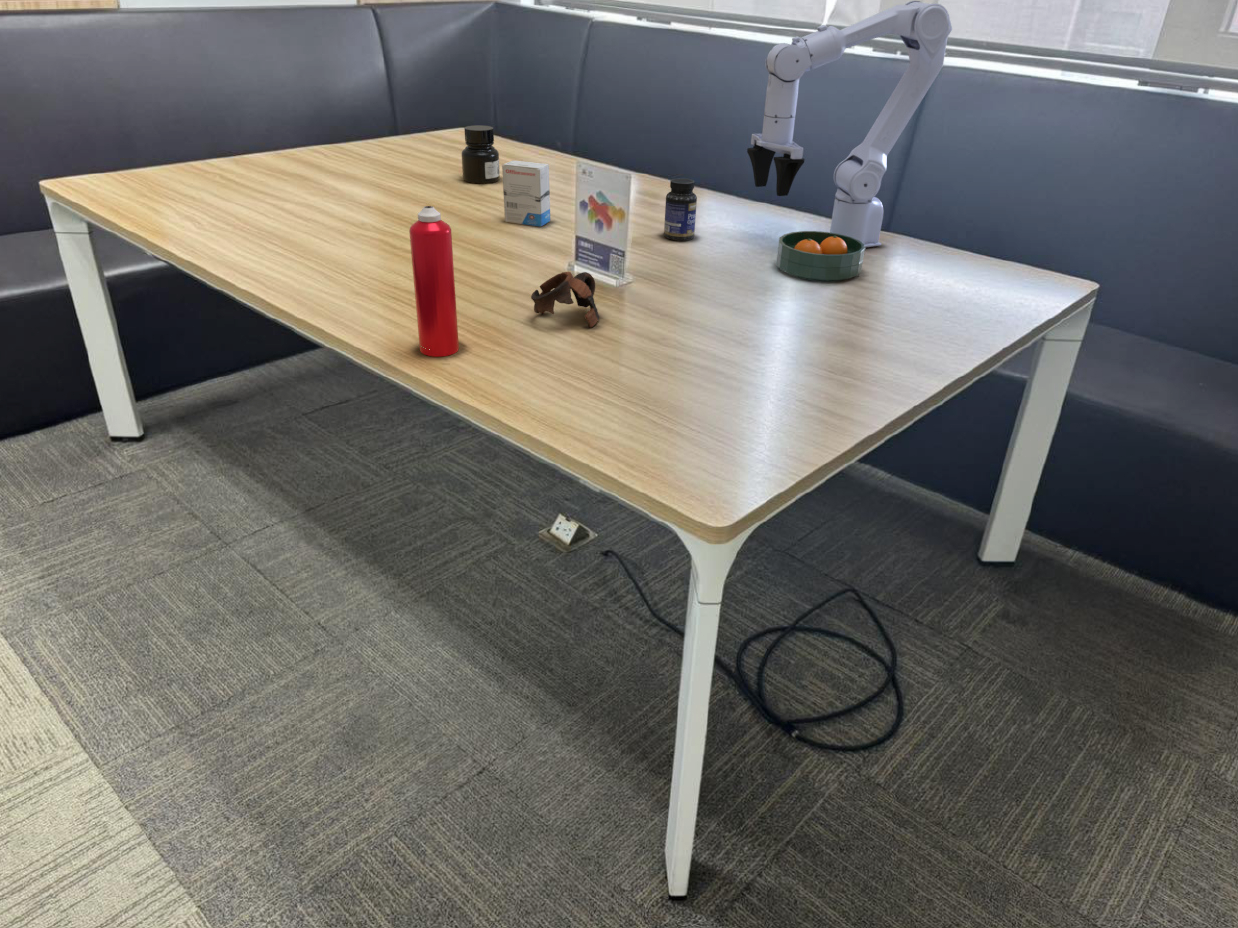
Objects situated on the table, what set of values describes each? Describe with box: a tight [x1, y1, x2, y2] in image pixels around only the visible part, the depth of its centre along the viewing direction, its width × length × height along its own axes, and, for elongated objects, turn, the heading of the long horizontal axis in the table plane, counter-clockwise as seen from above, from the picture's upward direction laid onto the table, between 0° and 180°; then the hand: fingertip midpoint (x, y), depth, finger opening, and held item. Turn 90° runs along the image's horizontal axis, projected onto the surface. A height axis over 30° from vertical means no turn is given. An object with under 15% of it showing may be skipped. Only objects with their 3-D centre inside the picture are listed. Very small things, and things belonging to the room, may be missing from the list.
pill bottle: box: [663, 177, 698, 242], centre depth 177 cm, size 6×6×11 cm
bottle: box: [408, 205, 460, 358], centre depth 122 cm, size 5×6×20 cm
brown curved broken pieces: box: [530, 271, 600, 329], centre depth 138 cm, size 12×10×8 cm
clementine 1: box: [794, 238, 822, 254], centre depth 161 cm, size 5×5×6 cm
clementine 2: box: [820, 236, 847, 255], centre depth 163 cm, size 5×5×6 cm
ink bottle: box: [461, 124, 501, 184], centre depth 214 cm, size 10×9×12 cm
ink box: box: [501, 160, 551, 228], centre depth 183 cm, size 9×5×12 cm, turn 68°
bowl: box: [775, 230, 866, 282], centre depth 163 cm, size 15×15×5 cm
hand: (771, 190), depth 172 cm, fingers open, 7 cm apart
